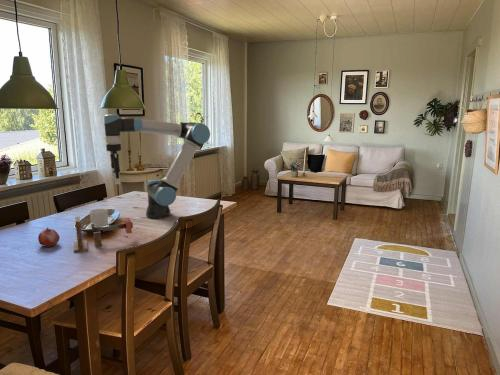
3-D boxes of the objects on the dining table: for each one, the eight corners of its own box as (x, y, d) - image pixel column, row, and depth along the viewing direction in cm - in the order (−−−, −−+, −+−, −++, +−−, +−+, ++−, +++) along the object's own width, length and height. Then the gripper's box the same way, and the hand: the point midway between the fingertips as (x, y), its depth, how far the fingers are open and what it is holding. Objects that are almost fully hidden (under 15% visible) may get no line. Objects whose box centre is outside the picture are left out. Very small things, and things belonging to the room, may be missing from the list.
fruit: (44, 242, 187) (41, 223, 185) (63, 241, 188) (61, 223, 186) (34, 249, 179) (32, 229, 176) (55, 248, 179) (52, 229, 177)
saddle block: (100, 242, 187) (99, 230, 186) (101, 246, 183) (100, 233, 181) (94, 243, 186) (93, 231, 185) (95, 246, 182) (94, 234, 180)
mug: (102, 233, 201) (100, 213, 198) (88, 232, 203) (86, 212, 200) (114, 226, 212) (113, 207, 210) (100, 225, 214) (99, 206, 212)
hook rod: (131, 229, 193) (131, 217, 192) (133, 232, 188) (132, 220, 186) (92, 234, 185) (90, 221, 184) (92, 238, 180) (91, 225, 178)
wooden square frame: (86, 242, 188) (84, 215, 184) (87, 250, 177) (84, 221, 174) (73, 244, 185) (70, 216, 182) (73, 252, 174) (70, 223, 171)
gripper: (104, 141, 209) (107, 178, 214) (108, 146, 187) (111, 186, 192) (118, 141, 212) (120, 177, 217) (123, 145, 190) (126, 185, 195)
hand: (116, 181), depth 204 cm, fingers open, 13 cm apart
